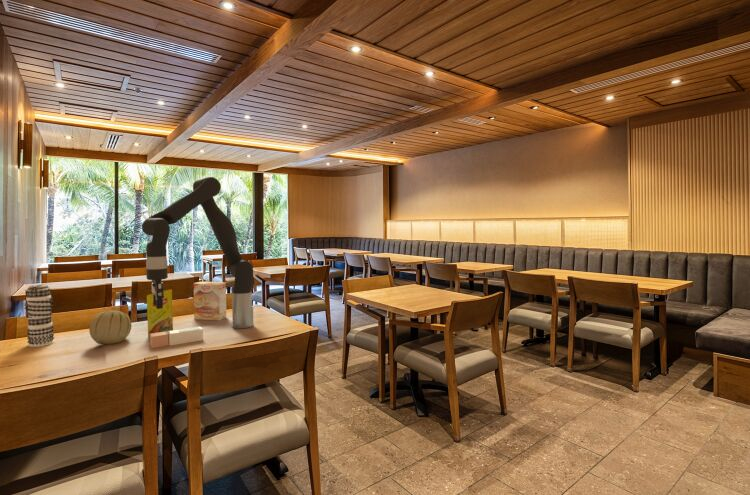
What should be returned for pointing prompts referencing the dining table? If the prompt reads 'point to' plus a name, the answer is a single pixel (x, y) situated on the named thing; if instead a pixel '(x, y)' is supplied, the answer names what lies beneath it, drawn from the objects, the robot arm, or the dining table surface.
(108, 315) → the cantaloupe
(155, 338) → the stub
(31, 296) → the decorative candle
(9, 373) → the dining table surface
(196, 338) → the white rectangular block
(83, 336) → the dining table surface
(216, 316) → the coffeecake box
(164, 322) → the food package
